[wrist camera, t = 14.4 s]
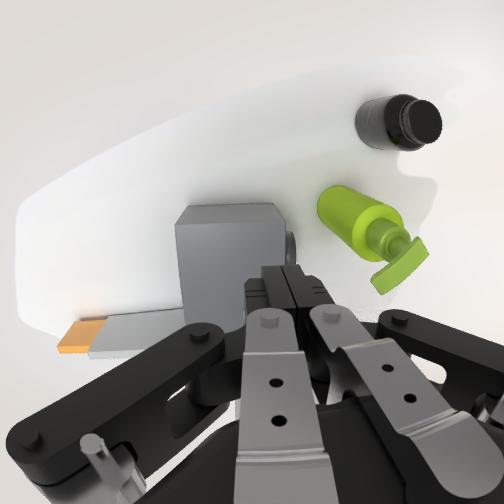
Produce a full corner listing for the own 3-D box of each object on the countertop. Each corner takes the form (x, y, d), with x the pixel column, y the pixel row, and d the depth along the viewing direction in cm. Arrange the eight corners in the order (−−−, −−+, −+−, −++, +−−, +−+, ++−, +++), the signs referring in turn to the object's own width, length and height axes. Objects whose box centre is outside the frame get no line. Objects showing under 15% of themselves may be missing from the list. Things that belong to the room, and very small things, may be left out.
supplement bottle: (374, 158, 40) (421, 166, 28) (344, 118, 38) (386, 112, 26) (406, 130, 39) (458, 131, 27) (378, 91, 37) (426, 78, 25)
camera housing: (283, 299, 46) (297, 342, 35) (195, 302, 45) (187, 346, 35) (284, 202, 41) (303, 222, 31) (187, 206, 40) (173, 227, 30)
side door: (200, 306, 45) (193, 345, 36) (201, 313, 45) (195, 353, 36) (77, 318, 44) (52, 352, 35) (79, 324, 45) (55, 359, 36)
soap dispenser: (302, 210, 42) (359, 266, 23) (340, 176, 40) (424, 207, 21) (328, 241, 43) (394, 313, 24) (365, 209, 42) (451, 259, 23)
